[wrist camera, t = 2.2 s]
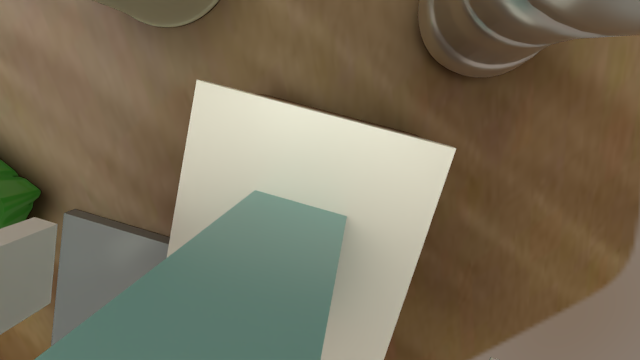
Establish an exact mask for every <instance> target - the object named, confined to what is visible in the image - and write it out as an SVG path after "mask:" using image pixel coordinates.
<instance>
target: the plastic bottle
mask: <svg viewBox="0 0 640 360" xmlns="http://www.w3.org/2000/svg"><path fill="white" fill-rule="evenodd" d="M418 23H419V28H420V33H421V37H422V39H423V42H424V44H425V47H426V48H427V50H428V51H429V53H430V54H431V56H432V57H433V58H434V59H435V60H436V61H437V62H438V63H439V64H441V65H442V66H444V67H445V68H447V69H449V70H451V71H453V72H456V73H458V74H461V75H464V76H470V77H475V78H479V77H492V76H497V75H502V74H504V73H506V72H509V71H511V70H514V69H515V68H517V67H518V66H520V65H521V64H523V63H524V62H526V61H528V60H529V59H531V58H532V57H534V56H535V55H536V54H537V53H538V52H539V51H540V50H542V49H544V48H546V47H548V46H549V45H551V44H555V43H559V42H563V41H568V40H572V39H579V38H596V37H613V36H630V35H640V0H419V5H418Z"/></svg>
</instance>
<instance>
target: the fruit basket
mask: <svg viewBox="0 0 640 360" xmlns="http://www.w3.org/2000/svg"><path fill="white" fill-rule="evenodd" d="M40 194H41V191H40V190H39V189H38V188H37V187H36V186H34V185H33V184H32V183H30V182H29V181H28V180H27V179H24V178H22V177H19V176H18V174H17V173H16V172H15V170H13V169H12V168H11V167H10V166H8V165H7V164H6V163H4V162H3V161H2V160H0V229H1V228H4V227H7V226H10V225H13V224H16V223H19V222H22V221H24V220H26V218H27V216H28V215H29V213H30V211H31V210H32V208H33V201H35V200H36V199H37V198H38V197H39V196H40Z"/></svg>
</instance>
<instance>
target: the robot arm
mask: <svg viewBox="0 0 640 360" xmlns="http://www.w3.org/2000/svg"><path fill="white" fill-rule="evenodd" d="M56 236H57V224H56V223H52V222H49V221H46V220H43V219H39V218H36V217H33V218H30V219H27V220H24V221H22V222H19V223H16V224H13V225H10V226H7V227H4V228H1V229H0V334H2V333H4V332H5V331H7V330H8V329H10V328H12V327H13V326H15V325H16V324H18V323H20V322H21V321H23V320H24V319H26V318H27V317H29V316H31V315H32V314H34V313H35V312H37V311H39V310H40V309H42V308H43V307H45V306H47V305H48V304H50V303H51V292H52V281H53V270H54V258H55V247H56ZM490 360H498V359H495V358H492V357H491V358H490Z"/></svg>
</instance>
